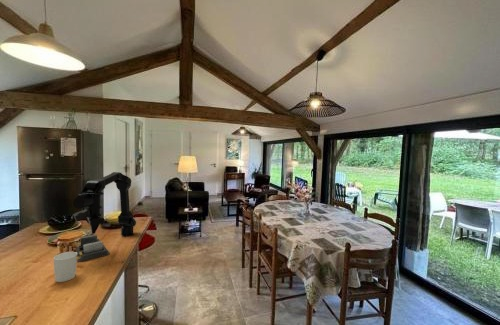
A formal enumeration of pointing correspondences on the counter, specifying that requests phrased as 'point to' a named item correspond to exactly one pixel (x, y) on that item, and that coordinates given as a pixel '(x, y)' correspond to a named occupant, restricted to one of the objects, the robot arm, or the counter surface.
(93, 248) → the panel
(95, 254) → the rack
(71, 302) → the counter surface
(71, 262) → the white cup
